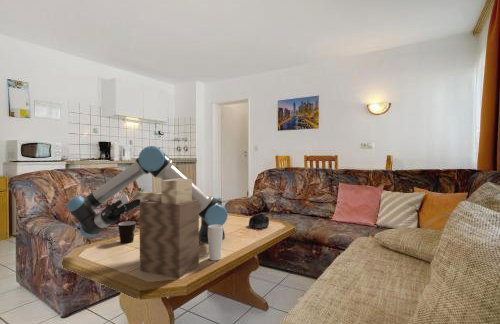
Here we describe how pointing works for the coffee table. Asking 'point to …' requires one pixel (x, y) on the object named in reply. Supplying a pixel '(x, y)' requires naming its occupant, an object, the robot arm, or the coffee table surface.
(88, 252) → the coffee table surface
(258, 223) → the black rounded lump
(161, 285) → the coffee table surface
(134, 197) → the stepped beige block
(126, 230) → the coffee mug
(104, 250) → the coffee table surface
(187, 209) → the stand
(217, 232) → the drinking glass
